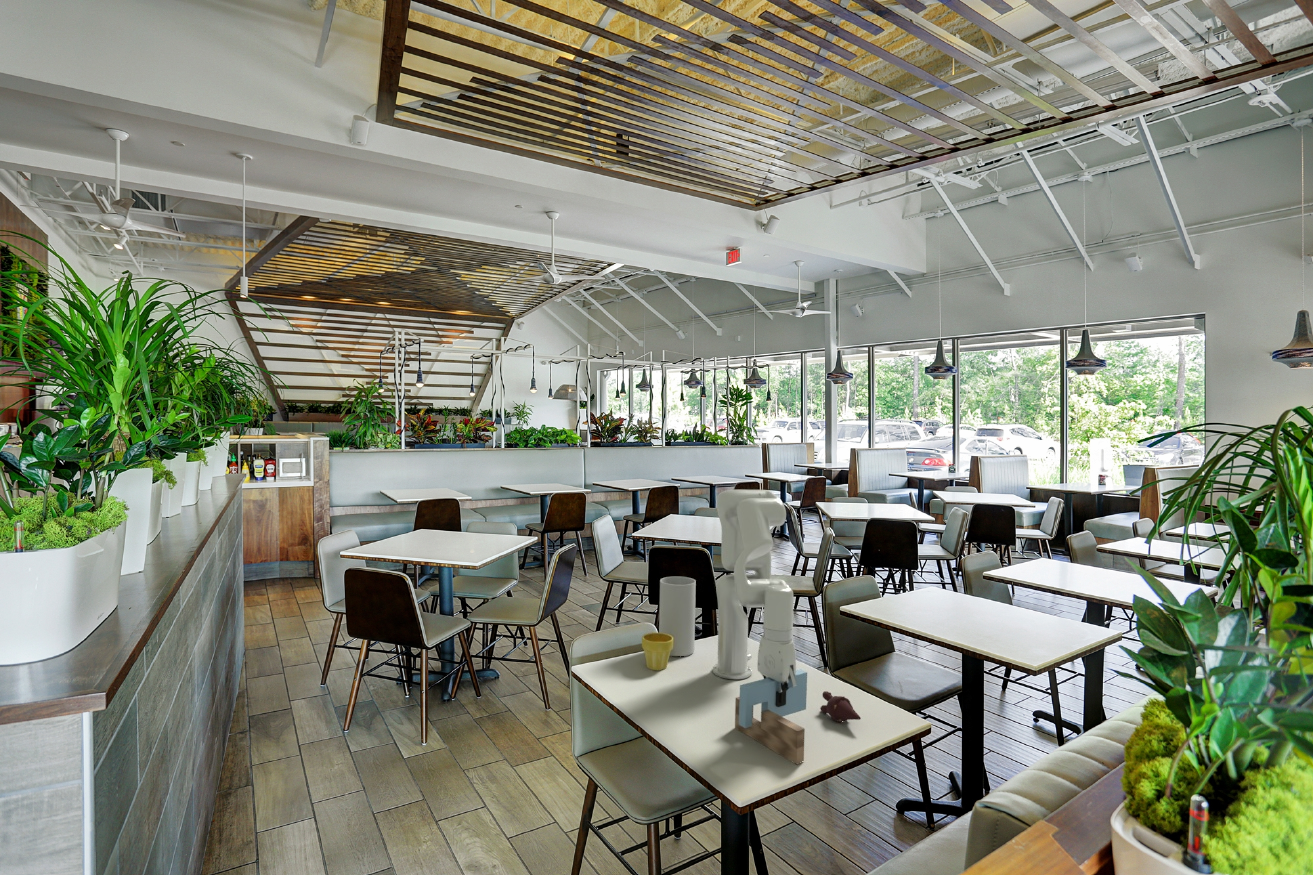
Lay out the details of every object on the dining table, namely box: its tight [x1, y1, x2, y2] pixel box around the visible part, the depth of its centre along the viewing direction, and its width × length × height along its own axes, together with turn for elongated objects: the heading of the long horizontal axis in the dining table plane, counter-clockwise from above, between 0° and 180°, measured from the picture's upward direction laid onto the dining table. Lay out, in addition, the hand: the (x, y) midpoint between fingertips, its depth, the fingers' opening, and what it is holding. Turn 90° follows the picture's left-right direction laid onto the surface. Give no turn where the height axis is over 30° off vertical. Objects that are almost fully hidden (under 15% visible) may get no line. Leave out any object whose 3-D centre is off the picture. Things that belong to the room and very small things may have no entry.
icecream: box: [820, 691, 861, 724], centre depth 177 cm, size 7×7×15 cm
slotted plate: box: [739, 669, 808, 728], centre depth 170 cm, size 22×2×10 cm, turn 125°
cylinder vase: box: [658, 576, 697, 658], centre depth 228 cm, size 12×12×25 cm
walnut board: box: [734, 696, 805, 765], centre depth 163 cm, size 22×2×8 cm, turn 34°
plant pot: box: [641, 632, 673, 671], centre depth 214 cm, size 10×10×10 cm
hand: (776, 702), depth 170 cm, fingers closed on slotted plate, 2 cm apart
